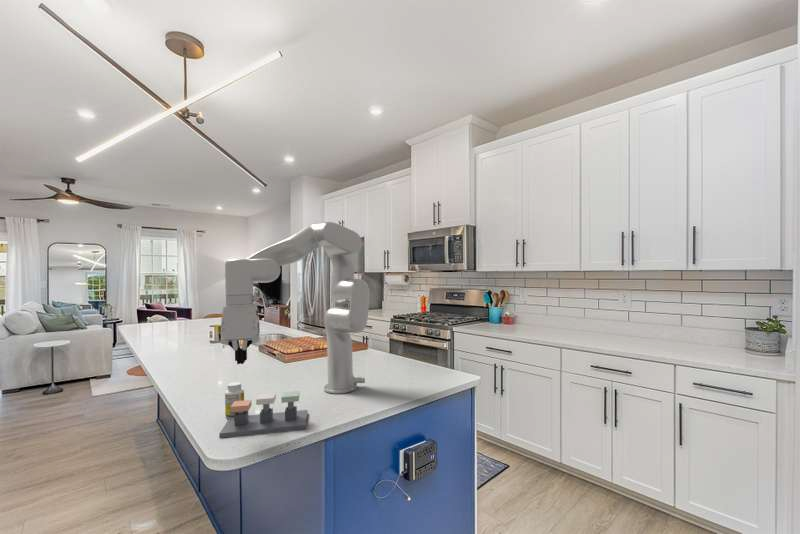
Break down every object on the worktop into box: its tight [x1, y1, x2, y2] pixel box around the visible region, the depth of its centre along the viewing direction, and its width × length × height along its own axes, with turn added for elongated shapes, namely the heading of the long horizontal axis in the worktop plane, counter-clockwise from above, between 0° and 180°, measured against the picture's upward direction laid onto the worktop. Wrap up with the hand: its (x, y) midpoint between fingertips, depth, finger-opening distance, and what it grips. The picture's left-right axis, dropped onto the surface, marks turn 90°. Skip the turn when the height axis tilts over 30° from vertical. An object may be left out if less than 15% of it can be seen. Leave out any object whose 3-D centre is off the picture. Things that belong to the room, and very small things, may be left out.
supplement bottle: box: [224, 381, 245, 420], centre depth 118 cm, size 6×6×10 cm
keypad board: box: [218, 405, 308, 439], centre depth 110 cm, size 23×12×4 cm, turn 102°
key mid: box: [255, 392, 277, 412], centre depth 110 cm, size 5×5×5 cm
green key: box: [281, 390, 300, 410], centre depth 112 cm, size 5×5×5 cm
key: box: [231, 399, 253, 415], centre depth 109 cm, size 5×5×5 cm
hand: (241, 362), depth 109 cm, fingers closed
